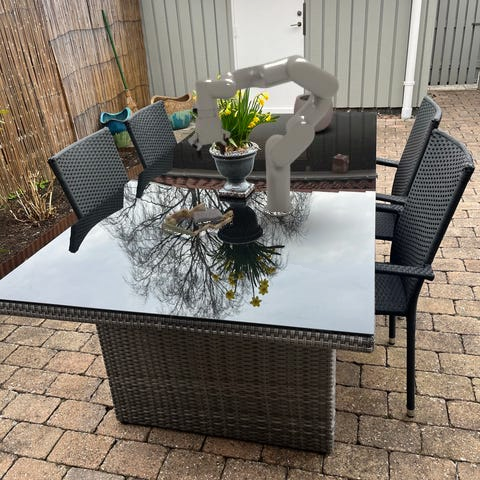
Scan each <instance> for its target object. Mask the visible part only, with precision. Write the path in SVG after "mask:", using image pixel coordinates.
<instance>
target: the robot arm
mask: <svg viewBox="0 0 480 480" xmlns="http://www.w3.org/2000/svg"><path fill="white" fill-rule="evenodd" d="M290 82H293V83H294V84H296V85H297V86H299V87H301V88H302V89H304V90H305V91H308V92H309V93H311V95H310V97H309V99H308V100H307V102H306V103H305V104H304V105H303V106H302V107H301V109H300V110H299V111H298V112H297V113H296V114H295V115H294V114H293V116H292V117H290V118H289V119H288V121H287V122H286V124H285V132H286V133H285V135H281V134H273V135H271V136H270V137H269V138H268V139H267V140H266V142H265V147H264V148H265V149H264V154H265V155H264V156H265V168H266V169H265V170H266V177H265V178H266V204H264V206H263V213H264V214H266V215H268V216H272V217H285V216H289V215H291V214H293V212H294V209H295V208H294V205H292V204H291V203H292V201H293V200H294V199H295V197H296V196H295V195H294V194H291V164H292V163H294V161H295V160H296V159H298V158H299V157H300V156H301V154H303V152H304V151H306V149H307V148H308V147H310V145H311V144H312V142H313V141H314V138H315V134H316V132H315V130H314V126H315V125H316V124H317V123H318V122H319V121H320V120H321V119H322V117H323V116H324V115H325V114H326V113H327V111H328V109H329V107H330V105H331V101H332V102H333V97H335V95H337V93H338V92H339V88H340V85H339V84H340V83H339V80H338V78H337V77H336V76H335V75H333V74H332V73H331V72H330V71H328V70H326V69H322V68H321V67H318V66H317V65H315V64H314V63H312V62H311V61H309V60H308V59H306V58H305V57H304V56H302V55H300V54H294V55H290V56H286V57H282V58H279V59H276V60H273V61H269V62H265V63H262V64H257V65H253V66H248V67H243V68H242V67H241V68H239V69H238V68H237V69H236V70H232V71H229V72H225V73H222V74H221V75H220V76H219V77H217V79H215V78H213V77H201V78H200V77H199V78H197V79H196V80H195V96H196V106H197V116H196V117H195V123H194V127H195V129H194V132H195V133H194V135H192V136H191V137H189V138H188V139H187V141H188V143H189V144H190V146H191V147H192V148H193V149H195V157H196V158H197V159H198V160H199V161H203V155H202V153H203V151H202V149H201V148H202V147H203V145H209V144H214V143H215V144H216V143H219V154H220V155H221V156H226V151H227V150H226V145H227V143H228V141H229V140H230V137H231V135H232V133H231V132H230V131H228V130H225V129H223V123H222V120H221V115H219V112H222V108H221V107H218V100H231V99H234V98H235V97H236V96H237V93H238V91H241V90H245V89H249V88H251V89H252V88H257V89H269V88H272V87H276V86H279V85H283V84H286V83H290ZM224 134H225V136H224ZM194 141H195V142H196V144H195V142H194ZM267 210H269V211H271V212H286V213H287V214H282V215H274V214H269V213H267V212H265V211H267ZM289 212H290V213H289Z"/></svg>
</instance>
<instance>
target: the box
mask: <svg viewBox="0 0 480 480" xmlns="http://www.w3.org/2000/svg"><path fill="white" fill-rule="evenodd" d="M349 160H350V156H349V155H346V154H340V153H339V154H337V155H334V156H333V157H332V165H331V166H332V167H331V169H332V170H331V171H332V172H334V173H338V174H345V173H346V172H348V171H349V166H350V165H349V163H350V161H349Z"/></svg>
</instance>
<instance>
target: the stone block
mask: <svg viewBox="0 0 480 480" xmlns="http://www.w3.org/2000/svg"><path fill="white" fill-rule="evenodd" d="M222 215H223V214H222V212H221V210H220V209H218V208H209V209H208V208H207V209H205V210H204V211H199V212H193V217H192V222H193V223H194V226H196V227H204V226H206V225H207V224H211V225H214V224H215V225H216V224H219V223H221V222H222V220H220V219H222ZM193 218H194V219H193ZM213 220H220V221H214V222H208V223H202V224H196V223H200V222H207V221H213Z"/></svg>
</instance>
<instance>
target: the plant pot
mask: <svg viewBox="0 0 480 480" xmlns="http://www.w3.org/2000/svg"><path fill="white" fill-rule="evenodd" d="M310 95H311V92H309V93H302V94H299V95H297V96H296V98H295V102H294V106H293V116H294V115H295V114H296V113H297V112H298V111H299V110H300V109H301V107H302V106H303V105H304V104H305V103H306V102H307V100H308V99H309V97H310ZM333 117H334V104H333V100H332V101H331V105H330V107H329V109H328V111H327V113H326V114H325V115H324V116H323V117H322V119H321V120H320V121H319V122H318V123H317V124H316V125H315V126H314V130H315V133H317V132H321V131H322V130H325V129H326V128H327V127H328V126H329V125H330V123H331V122H332V119H333Z"/></svg>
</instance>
